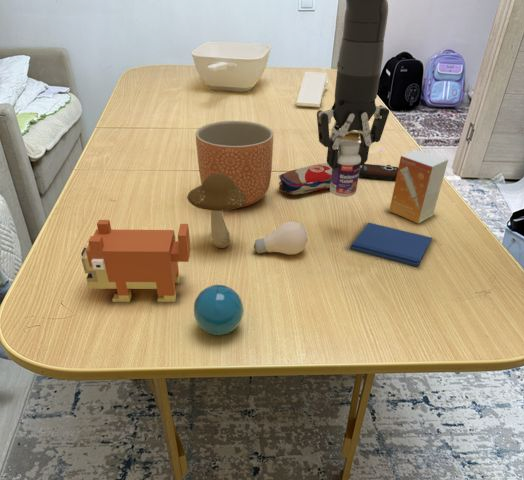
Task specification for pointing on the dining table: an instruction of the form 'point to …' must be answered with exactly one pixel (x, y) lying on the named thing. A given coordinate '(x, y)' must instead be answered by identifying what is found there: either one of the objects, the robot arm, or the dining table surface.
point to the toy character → (135, 260)
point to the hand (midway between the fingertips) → (346, 165)
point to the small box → (418, 185)
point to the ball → (218, 309)
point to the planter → (237, 155)
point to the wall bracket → (312, 89)
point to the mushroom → (217, 203)
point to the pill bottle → (346, 169)
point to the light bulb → (284, 239)
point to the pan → (231, 64)
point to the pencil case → (306, 179)
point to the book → (392, 244)
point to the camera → (378, 171)
